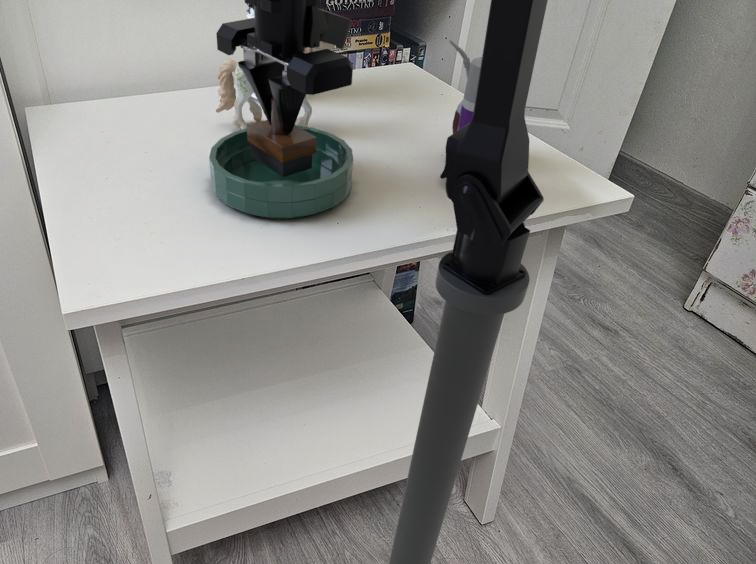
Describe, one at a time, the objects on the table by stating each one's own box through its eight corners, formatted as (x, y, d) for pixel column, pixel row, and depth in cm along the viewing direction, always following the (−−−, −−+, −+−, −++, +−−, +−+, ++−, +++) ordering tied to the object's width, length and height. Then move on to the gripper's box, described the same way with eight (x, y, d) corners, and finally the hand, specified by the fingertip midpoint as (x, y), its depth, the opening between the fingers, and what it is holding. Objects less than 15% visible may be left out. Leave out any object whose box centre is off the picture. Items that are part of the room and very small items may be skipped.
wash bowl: (378, 195, 80) (382, 161, 77) (262, 237, 72) (261, 201, 69) (296, 146, 91) (297, 114, 88) (187, 178, 83) (184, 145, 80)
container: (444, 175, 84) (466, 56, 74) (479, 176, 84) (506, 56, 74) (451, 193, 81) (475, 69, 71) (488, 193, 81) (517, 70, 71)
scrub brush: (315, 168, 78) (318, 103, 73) (282, 179, 76) (282, 112, 71) (280, 146, 83) (280, 83, 77) (247, 156, 81) (245, 92, 75)
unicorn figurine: (352, 135, 94) (359, 37, 85) (219, 142, 91) (212, 43, 82) (341, 116, 99) (347, 22, 90) (216, 122, 97) (209, 27, 88)
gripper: (399, -10, 64) (383, 140, 74) (291, -42, 75) (290, 92, 86) (311, 6, 59) (306, 164, 70) (209, -31, 70) (219, 110, 81)
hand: (281, 129), depth 77 cm, fingers closed on scrub brush, 2 cm apart
